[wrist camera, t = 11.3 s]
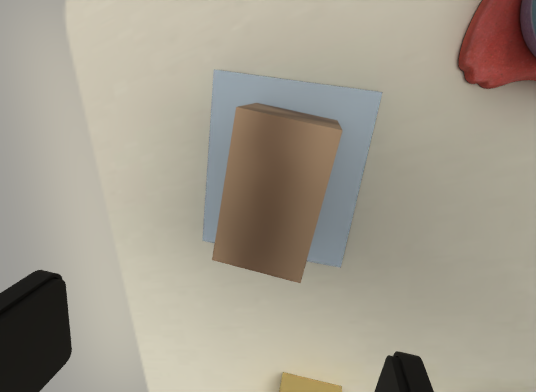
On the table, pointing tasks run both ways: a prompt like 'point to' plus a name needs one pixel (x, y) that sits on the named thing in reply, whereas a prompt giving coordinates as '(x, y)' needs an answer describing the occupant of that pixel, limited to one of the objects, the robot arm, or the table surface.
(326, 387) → the cube brick
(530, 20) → the stacking bear
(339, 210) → the base board
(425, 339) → the table surface
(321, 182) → the long brick
